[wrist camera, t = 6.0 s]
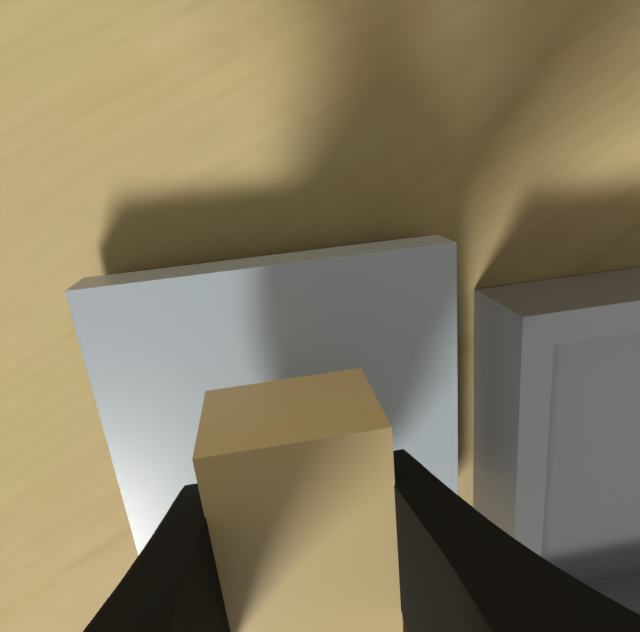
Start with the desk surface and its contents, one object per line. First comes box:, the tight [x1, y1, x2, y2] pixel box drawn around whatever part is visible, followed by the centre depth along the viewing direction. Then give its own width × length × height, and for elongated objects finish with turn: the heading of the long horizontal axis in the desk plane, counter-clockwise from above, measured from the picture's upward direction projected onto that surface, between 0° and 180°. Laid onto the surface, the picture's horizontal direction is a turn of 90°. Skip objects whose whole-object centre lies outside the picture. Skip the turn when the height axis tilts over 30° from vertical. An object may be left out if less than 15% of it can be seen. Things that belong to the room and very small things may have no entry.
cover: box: [65, 235, 458, 632], centre depth 11 cm, size 9×9×5 cm
